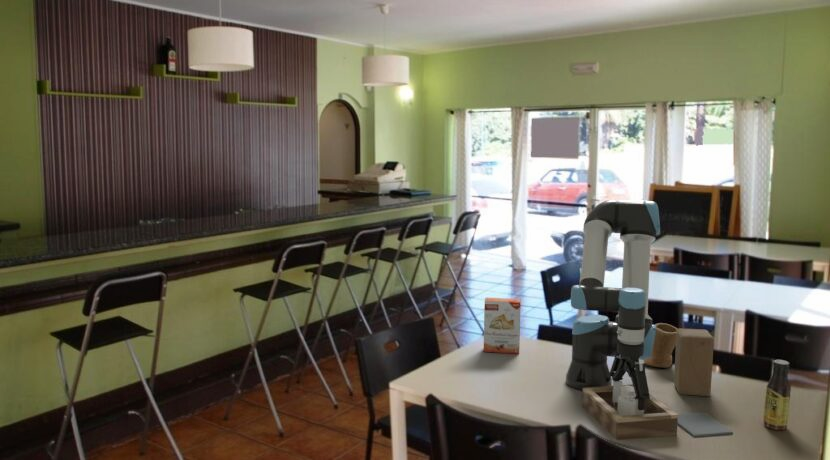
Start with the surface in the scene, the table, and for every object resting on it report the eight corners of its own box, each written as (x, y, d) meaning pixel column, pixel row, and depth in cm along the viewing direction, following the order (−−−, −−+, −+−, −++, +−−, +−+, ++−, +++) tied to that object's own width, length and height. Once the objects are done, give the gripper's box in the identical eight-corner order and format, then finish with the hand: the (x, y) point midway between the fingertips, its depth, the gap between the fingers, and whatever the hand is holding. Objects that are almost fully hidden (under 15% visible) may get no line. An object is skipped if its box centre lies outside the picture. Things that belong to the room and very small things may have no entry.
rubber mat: (667, 416, 204) (667, 414, 204) (703, 413, 206) (704, 412, 206) (693, 436, 190) (693, 434, 190) (732, 433, 192) (732, 431, 192)
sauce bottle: (758, 422, 200) (763, 357, 197) (778, 421, 200) (783, 357, 198) (771, 432, 193) (776, 365, 191) (792, 431, 194) (797, 364, 191)
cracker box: (483, 352, 265) (483, 300, 262) (484, 348, 271) (484, 296, 268) (519, 354, 262) (520, 301, 259) (519, 349, 268) (520, 298, 265)
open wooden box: (582, 406, 212) (582, 387, 211) (635, 402, 215) (636, 384, 214) (617, 439, 189) (618, 419, 188) (676, 434, 192) (677, 414, 191)
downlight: (611, 422, 200) (614, 390, 199) (613, 413, 207) (616, 382, 205) (639, 427, 197) (642, 395, 196) (641, 418, 204) (644, 386, 202)
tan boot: (676, 372, 243) (678, 331, 240) (641, 367, 247) (643, 327, 245) (678, 359, 256) (680, 320, 254) (645, 355, 261) (647, 317, 259)
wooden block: (711, 397, 219) (714, 337, 216) (678, 395, 221) (681, 335, 218) (704, 386, 229) (707, 328, 226) (673, 384, 231) (676, 327, 228)
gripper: (600, 330, 210) (597, 395, 213) (639, 354, 186) (636, 428, 188) (622, 329, 211) (619, 394, 214) (664, 353, 187) (661, 426, 190)
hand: (627, 410), depth 201 cm, fingers open, 13 cm apart
